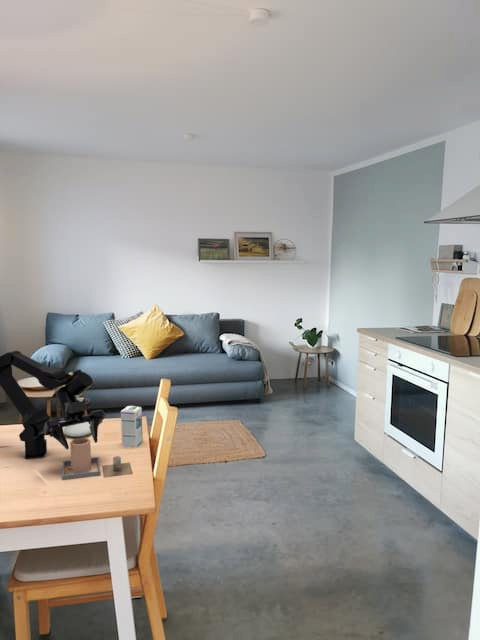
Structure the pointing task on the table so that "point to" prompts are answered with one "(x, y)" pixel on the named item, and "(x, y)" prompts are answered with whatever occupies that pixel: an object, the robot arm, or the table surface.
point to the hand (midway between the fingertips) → (82, 445)
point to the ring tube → (80, 455)
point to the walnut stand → (117, 468)
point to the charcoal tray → (81, 475)
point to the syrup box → (131, 426)
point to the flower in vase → (77, 425)
